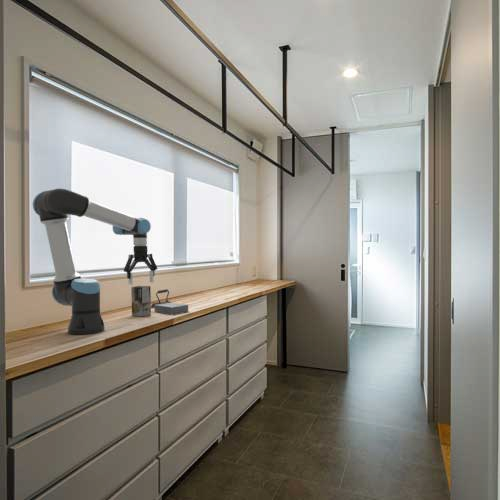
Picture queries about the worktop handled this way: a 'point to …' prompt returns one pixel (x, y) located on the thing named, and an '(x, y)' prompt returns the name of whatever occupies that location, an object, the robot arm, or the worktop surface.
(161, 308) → the plinth
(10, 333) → the worktop surface
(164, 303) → the clothes iron
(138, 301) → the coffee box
